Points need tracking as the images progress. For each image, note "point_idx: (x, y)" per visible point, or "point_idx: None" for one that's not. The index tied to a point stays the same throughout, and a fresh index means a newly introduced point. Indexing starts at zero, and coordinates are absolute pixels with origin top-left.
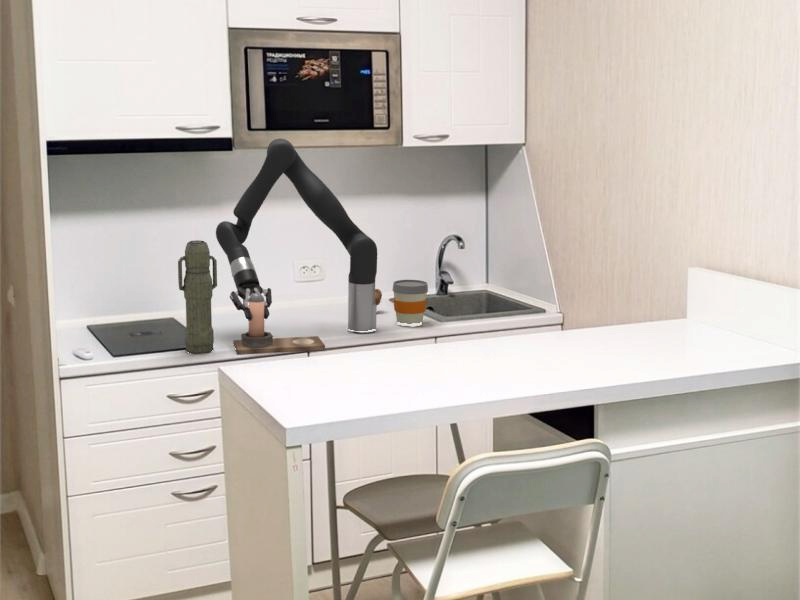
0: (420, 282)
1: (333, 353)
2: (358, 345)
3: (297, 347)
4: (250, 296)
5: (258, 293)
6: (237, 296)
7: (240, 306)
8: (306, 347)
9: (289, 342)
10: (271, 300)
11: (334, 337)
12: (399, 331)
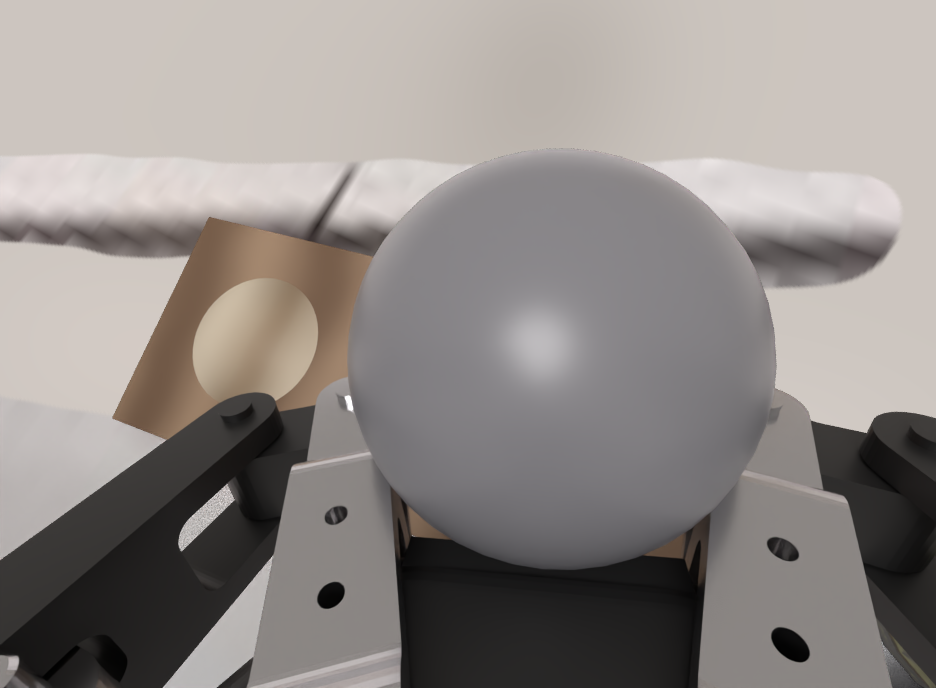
0: None
1: (232, 163)
2: (57, 239)
3: (346, 252)
4: (764, 320)
5: (484, 229)
6: None
7: (904, 425)
8: (302, 241)
9: (333, 360)
10: (187, 428)
11: (30, 439)
12: None
